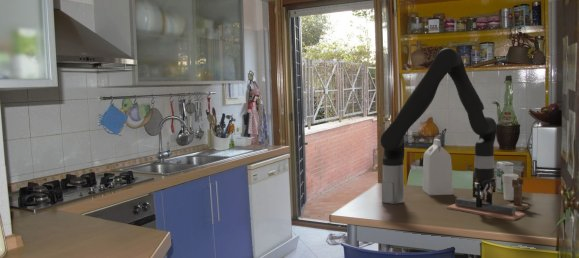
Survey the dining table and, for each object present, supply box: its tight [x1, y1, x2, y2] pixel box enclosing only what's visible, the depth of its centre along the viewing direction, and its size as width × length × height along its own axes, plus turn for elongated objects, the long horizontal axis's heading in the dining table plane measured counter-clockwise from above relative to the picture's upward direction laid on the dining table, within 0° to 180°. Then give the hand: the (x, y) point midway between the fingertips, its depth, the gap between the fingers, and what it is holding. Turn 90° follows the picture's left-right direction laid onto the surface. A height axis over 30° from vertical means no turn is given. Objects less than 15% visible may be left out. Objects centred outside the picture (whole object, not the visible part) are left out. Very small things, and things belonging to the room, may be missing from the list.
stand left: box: [470, 178, 486, 202], centre depth 212 cm, size 7×6×12 cm
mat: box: [446, 203, 525, 222], centre depth 196 cm, size 10×28×1 cm, turn 41°
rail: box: [454, 197, 516, 216], centre depth 195 cm, size 3×24×3 cm, turn 41°
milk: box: [422, 138, 454, 196], centre depth 233 cm, size 12×12×26 cm
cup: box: [502, 173, 519, 201], centre depth 215 cm, size 7×7×11 cm
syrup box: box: [495, 161, 514, 194], centre depth 229 cm, size 6×6×14 cm
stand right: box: [507, 177, 530, 212], centre depth 200 cm, size 7×6×12 cm
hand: (484, 205), depth 195 cm, fingers open, 8 cm apart
